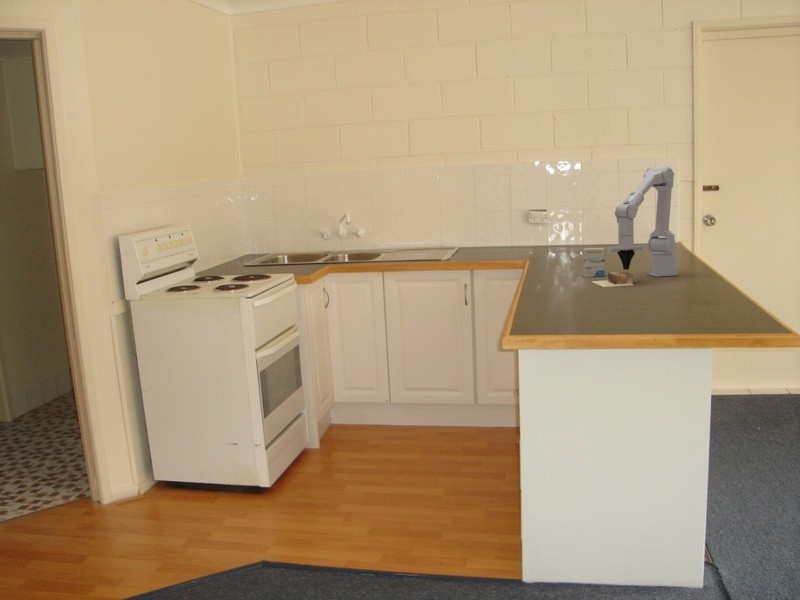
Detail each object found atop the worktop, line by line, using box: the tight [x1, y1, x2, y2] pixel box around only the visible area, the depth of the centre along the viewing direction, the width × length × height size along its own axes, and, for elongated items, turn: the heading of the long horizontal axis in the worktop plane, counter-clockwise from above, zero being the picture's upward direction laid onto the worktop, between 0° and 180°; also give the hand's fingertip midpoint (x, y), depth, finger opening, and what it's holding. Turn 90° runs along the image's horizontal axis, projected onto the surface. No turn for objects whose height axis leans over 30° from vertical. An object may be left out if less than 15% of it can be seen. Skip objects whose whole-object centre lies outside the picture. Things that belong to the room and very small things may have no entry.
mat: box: [590, 279, 634, 289], centre depth 302 cm, size 12×14×1 cm
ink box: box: [583, 247, 606, 278], centre depth 324 cm, size 8×5×12 cm, turn 74°
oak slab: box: [607, 271, 634, 284], centre depth 302 cm, size 4×8×7 cm
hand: (626, 269), depth 302 cm, fingers closed
